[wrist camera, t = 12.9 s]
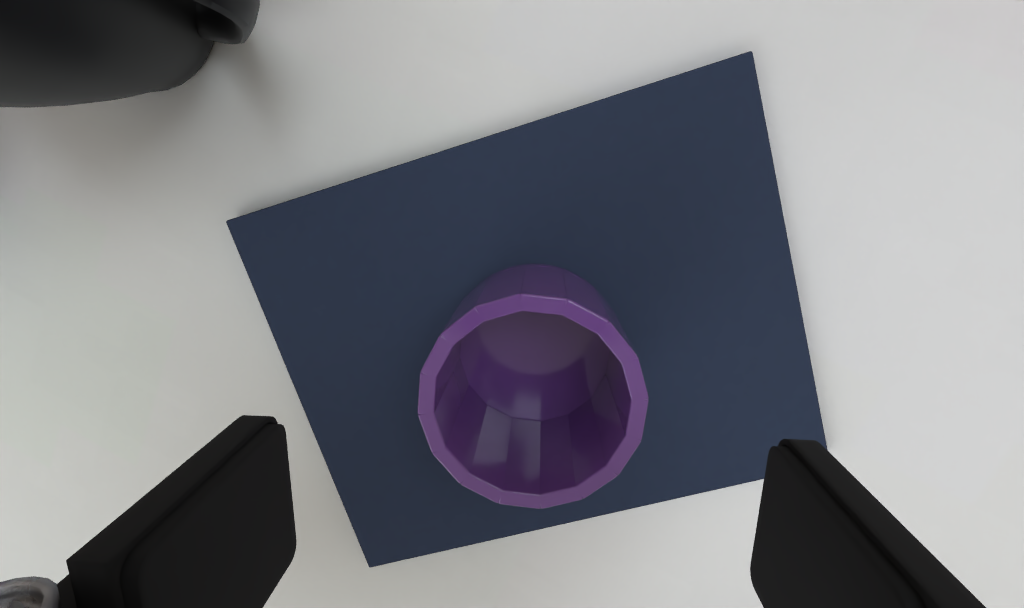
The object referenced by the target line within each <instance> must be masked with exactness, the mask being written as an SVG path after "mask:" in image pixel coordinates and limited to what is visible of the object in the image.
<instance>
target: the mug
mask: <svg viewBox="0 0 1024 608" xmlns="http://www.w3.org/2000/svg"><path fill="white" fill-rule="evenodd" d="M259 6H260V0H0V107H47V106H65V105H74V104H83V103H92V102H100V101H108V100H115V99H120V98H126V97H131V96H135V95H139V94H144V93H148V92H154V91H163V90H168V89H171V88H174V87H176V86H179V85H181V84H183V83H184V82H186V81H187V80H188V79H190V78H191V77H192V76H194V75H195V74H196V73H197V71H198V70H199V69H200V68H201V66H202V65H203V64H204V62H205V61H206V59H207V57H208V55H209V52H210V50H211V48H212V45H213V41H217V42H221V43H227V44H239V43H244V42H245V41H246V40H247V38H248V37H249V35H250V33H251V32H252V30H253V28H254V25H255V23H256V19H257V15H258V11H259Z"/></svg>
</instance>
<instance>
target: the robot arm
mask: <svg viewBox="0 0 1024 608" xmlns="http://www.w3.org/2000/svg"><path fill="white" fill-rule="evenodd" d="M295 550H296V532H295V522H294V512H293V501H292V491H291V481H290V471H289V461H288V451H287V441H286V432H285V428H284V426H283V425H282V424H278V423H277V421H276V419H275V418H274V417H271V416H248V415H243V416H241V417H239V418H238V419H237V420H235V421H234V422H233V423H232V424H230V425H229V426H228V427H227V428H226V429H224V430H223V431H222V432H221V433H220V434H218V435H217V436H216V437H215V438H214V439H212V440H211V441H210V442H209V443H207V444H206V445H205V446H204V447H203V448H201V449H200V450H199V451H198V452H197V453H195V454H194V455H193V456H192V457H191V458H189V459H188V460H187V461H186V462H185V463H183V464H182V465H181V466H180V467H178V468H177V469H176V470H175V471H174V472H172V473H171V474H170V475H169V476H168V477H166V478H165V479H164V480H163V481H162V482H160V483H159V484H158V485H157V486H156V487H154V488H153V489H152V490H151V491H149V492H148V493H147V494H146V495H145V496H143V497H142V498H141V499H140V500H139V501H137V502H136V503H135V504H134V505H133V506H131V507H130V508H129V509H128V510H127V511H125V512H124V513H123V514H122V515H120V516H119V517H118V518H117V519H116V520H114V521H113V522H112V523H111V524H110V525H108V526H107V527H106V528H105V529H104V530H102V531H101V532H100V533H99V534H98V535H96V536H95V537H94V538H93V539H91V540H90V541H89V542H88V543H87V544H85V545H84V546H83V547H82V548H81V549H79V550H78V551H77V552H76V553H75V554H73V555H72V556H71V557H70V558H69V559H67V560H66V562H67V566H68V570H69V574H68V575H67V576H66V577H65V578H64V579H63V580H62V581H60V582H59V583H58V584H56V583H54V582H53V581H51V580H50V579H48V578H42V577H34V576H33V577H23V578H15V579H11V580H7V581H3V582H0V608H263V606H264V604H265V603H266V601H267V600H268V598H269V597H270V595H271V593H272V592H273V590H274V589H275V587H276V586H277V584H278V582H279V581H280V579H281V578H282V576H283V574H284V573H285V571H286V570H287V568H288V567H289V565H290V563H291V562H292V560H293V557H294V554H295ZM750 572H751V580H752V584H753V587H754V589H755V591H756V593H757V595H758V597H759V599H760V601H761V603H762V605H763V607H764V608H986V607H985V606H984V605H983V604H982V603H981V602H980V601H979V600H978V599H977V598H976V597H975V596H974V595H973V594H972V593H971V592H970V591H969V590H968V589H967V588H966V587H965V586H964V585H963V584H962V583H961V582H960V581H959V580H958V579H957V578H956V577H955V576H954V575H953V574H952V573H950V572H949V571H948V570H947V569H946V568H945V567H944V566H943V565H942V564H941V563H940V562H939V561H938V560H937V559H936V558H935V557H934V556H933V555H932V554H931V553H930V552H929V551H928V550H927V549H926V548H925V547H924V546H923V545H922V544H921V543H920V542H919V541H918V540H917V539H916V538H915V537H914V536H913V535H912V534H911V533H910V532H909V531H908V530H907V529H906V528H905V527H904V526H903V525H902V524H901V523H900V522H899V521H898V520H897V519H896V518H895V517H894V516H893V515H892V514H891V513H890V512H889V511H888V510H887V509H886V508H885V507H884V506H883V505H882V504H881V503H880V502H879V501H878V500H877V499H876V498H875V497H874V496H873V495H872V494H871V493H870V492H869V491H868V490H867V489H866V488H865V487H864V486H863V485H862V484H861V483H860V482H859V481H858V480H857V479H856V478H855V477H854V476H853V475H852V474H851V473H850V472H849V471H848V470H847V469H846V468H845V467H844V466H843V465H842V464H841V463H839V462H838V461H837V460H836V459H835V458H834V457H833V456H832V455H831V454H830V453H829V452H828V451H827V450H826V449H825V448H824V447H823V446H822V445H821V444H820V443H819V442H818V441H816V440H800V439H782V440H781V441H780V442H779V444H778V446H772V447H771V448H770V450H769V453H768V459H767V465H766V471H765V477H764V484H763V490H762V496H761V503H760V509H759V515H758V522H757V528H756V534H755V540H754V547H753V553H752V559H751V567H750Z"/></svg>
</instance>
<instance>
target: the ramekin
mask: <svg viewBox="0 0 1024 608" xmlns="http://www.w3.org/2000/svg"><path fill="white" fill-rule="evenodd" d="M648 398H649V396H648V392H647V389H646V385H645V381H644V377H643V373H642V370H641V366H640V362H639V358H638V356H637V354H636V352H635V351H634V349H633V347H632V345H631V343H630V341H629V339H628V337H627V335H626V333H625V332H624V330H623V328H622V326H621V324H620V322H619V320H618V318H617V316H616V315H615V313H614V311H613V310H612V309H611V307H610V306H609V305H608V303H607V302H606V300H605V299H604V297H603V296H602V295H601V294H600V293H599V292H598V290H597V289H596V288H595V287H594V286H592V285H591V284H590V283H589V282H588V281H586V280H585V279H583V278H582V277H580V276H579V275H577V274H575V273H573V272H571V271H568V270H566V269H563V268H560V267H557V266H552V265H546V264H523V265H517V266H513V267H509V268H506V269H503V270H501V271H498V272H496V273H494V274H492V275H491V276H489V277H487V278H486V279H484V280H483V281H482V282H480V283H479V284H478V285H477V286H476V287H475V288H474V289H473V290H472V291H471V292H470V293H468V294H467V295H466V296H465V298H464V299H463V300H462V302H461V303H460V305H459V306H458V308H457V309H456V311H455V312H454V314H453V315H452V317H451V318H450V320H449V321H448V323H447V324H446V326H445V327H444V329H443V330H442V332H441V333H440V335H439V337H438V339H437V340H436V342H435V344H434V346H433V348H432V350H431V352H430V354H429V356H428V358H427V360H426V361H425V363H424V365H423V367H422V369H421V373H420V379H419V396H418V417H419V420H420V422H421V425H422V428H423V430H424V433H425V436H426V439H427V441H428V444H429V447H430V450H431V452H433V455H434V456H435V457H436V458H437V459H438V461H439V462H440V463H441V464H442V465H443V466H444V467H445V468H446V469H447V470H448V472H449V473H450V474H451V475H452V476H453V477H454V478H455V479H456V480H457V481H458V483H461V485H462V486H464V487H466V488H468V489H470V490H472V491H474V492H476V493H478V494H480V495H482V496H484V497H486V498H488V499H490V500H492V501H494V502H496V503H498V502H499V504H504V505H512V506H520V507H528V508H536V509H540V508H542V509H543V508H548V507H552V506H557V505H561V504H565V503H570V502H574V501H578V500H582V498H583V499H584V498H586V497H587V496H589V495H590V494H592V493H593V492H595V491H596V490H598V489H599V488H601V487H602V486H604V485H605V484H607V483H608V482H610V481H611V480H613V479H614V478H615V477H617V475H619V474H620V472H621V471H622V469H623V468H624V466H625V465H626V463H627V462H628V460H629V459H630V457H631V456H632V454H633V453H634V451H635V450H636V449H637V447H638V446H639V444H640V443H641V439H642V436H643V430H644V425H645V419H646V413H647V407H648V402H649V400H648Z"/></svg>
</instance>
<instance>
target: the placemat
mask: <svg viewBox="0 0 1024 608" xmlns="http://www.w3.org/2000/svg"><path fill="white" fill-rule="evenodd" d="M226 223H227V225H228V227H229V230H230V232H231V235H232V237H233V240H234V242H235V244H236V247H237V249H238V252H239V254H240V256H241V259H242V261H243V264H244V266H245V268H246V271H247V273H248V276H249V278H250V281H251V283H252V285H253V288H254V290H255V293H256V295H257V297H258V300H259V302H260V305H261V307H262V309H263V312H264V314H265V317H266V319H267V322H268V324H269V326H270V329H271V331H272V334H273V336H274V338H275V341H276V343H277V346H278V348H279V350H280V353H281V355H282V358H283V360H284V363H285V365H286V367H287V370H288V372H289V375H290V377H291V379H292V382H293V384H294V387H295V389H296V391H297V394H298V396H299V399H300V401H301V404H302V406H303V408H304V411H305V413H306V416H307V418H308V420H309V423H310V425H311V428H312V430H313V432H314V435H315V437H316V440H317V442H318V445H319V447H320V449H321V452H322V454H323V457H324V459H325V461H326V464H327V466H328V469H329V471H330V473H331V476H332V478H333V481H334V483H335V486H336V488H337V490H338V493H339V495H340V498H341V500H342V502H343V505H344V507H345V510H346V512H347V514H348V517H349V519H350V522H351V524H352V527H353V529H354V531H355V534H356V536H357V539H358V541H359V543H360V546H361V548H362V551H363V553H364V555H365V558H366V560H367V563H368V565H369V567H374V566H378V565H383V564H387V563H392V562H396V561H401V560H405V559H410V558H414V557H418V556H423V555H427V554H432V553H436V552H441V551H445V550H449V549H454V548H458V547H463V546H467V545H472V544H476V543H481V542H485V541H489V540H494V539H498V538H503V537H507V536H512V535H516V534H520V533H525V532H529V531H534V530H538V529H543V528H547V527H552V526H556V525H560V524H565V523H569V522H574V521H578V520H583V519H587V518H591V517H596V516H600V515H605V514H609V513H614V512H618V511H623V510H627V509H631V508H636V507H640V506H645V505H649V504H654V503H658V502H662V501H667V500H671V499H676V498H680V497H685V496H689V495H694V494H698V493H702V492H707V491H711V490H716V489H720V488H725V487H729V486H734V485H738V484H742V483H747V482H751V481H756V480H760V479H764V477H765V471H766V465H767V459H768V453H769V450H770V448H771V447H772V446H778V444H779V442H780V441H781V440H782V439H800V440H816V441H818V442H819V443H820V444H821V445H822V446H823V447H824V448H825V449H826V450H827V445H826V440H825V435H824V429H823V424H822V419H821V414H820V408H819V403H818V398H817V392H816V387H815V382H814V376H813V371H812V366H811V360H810V355H809V350H808V345H807V339H806V334H805V329H804V323H803V318H802V313H801V307H800V302H799V297H798V292H797V286H796V281H795V276H794V270H793V265H792V260H791V254H790V249H789V244H788V239H787V233H786V228H785V223H784V217H783V212H782V207H781V201H780V196H779V191H778V186H777V180H776V175H775V170H774V164H773V159H772V154H771V148H770V143H769V138H768V133H767V127H766V122H765V117H764V111H763V106H762V101H761V95H760V90H759V85H758V80H757V74H756V69H755V64H754V58H753V53H752V52H751V51H750V52H747V53H744V54H741V55H737V56H734V57H731V58H728V59H725V60H722V61H719V62H716V63H713V64H710V65H707V66H703V67H700V68H697V69H694V70H691V71H688V72H685V73H682V74H679V75H676V76H673V77H669V78H666V79H663V80H660V81H657V82H654V83H651V84H648V85H645V86H642V87H639V88H635V89H632V90H629V91H626V92H623V93H620V94H617V95H614V96H611V97H608V98H605V99H601V100H598V101H595V102H592V103H589V104H586V105H583V106H580V107H577V108H574V109H571V110H567V111H564V112H561V113H558V114H555V115H552V116H549V117H546V118H543V119H540V120H537V121H533V122H530V123H527V124H524V125H521V126H518V127H515V128H512V129H509V130H506V131H503V132H499V133H496V134H493V135H490V136H487V137H484V138H481V139H478V140H475V141H472V142H469V143H465V144H462V145H459V146H456V147H453V148H450V149H447V150H444V151H441V152H438V153H435V154H431V155H428V156H425V157H422V158H419V159H416V160H413V161H410V162H407V163H404V164H401V165H397V166H394V167H391V168H388V169H385V170H382V171H379V172H376V173H373V174H370V175H367V176H363V177H360V178H357V179H354V180H351V181H348V182H345V183H342V184H339V185H336V186H333V187H329V188H326V189H323V190H320V191H317V192H314V193H311V194H308V195H305V196H302V197H299V198H295V199H292V200H289V201H286V202H283V203H280V204H277V205H274V206H271V207H268V208H265V209H261V210H258V211H255V212H252V213H249V214H246V215H243V216H240V217H237V218H234V219H231V220H228V221H226ZM523 264H546V265H552V266H557V267H560V268H563V269H566V270H568V271H571V272H573V273H575V274H577V275H579V276H580V277H582V278H583V279H585V280H586V281H588V282H589V283H590V284H591V285H592V286H594V287H595V288H596V289H597V290H598V292H599V293H600V294H601V295H602V296H603V297H604V299H605V300H606V302H607V303H608V305H609V306H610V307H611V309H612V310H613V311H614V313H615V315H616V316H617V318H618V320H619V322H620V324H621V326H622V328H623V330H624V332H625V333H626V335H627V337H628V339H629V341H630V343H631V345H632V347H633V349H634V351H635V352H636V354H637V356H638V358H639V362H640V366H641V370H642V373H643V377H644V381H645V385H646V389H647V392H648V396H649V398H648V400H649V402H648V407H647V413H646V419H645V425H644V430H643V436H642V439H641V443H640V444H639V446H638V447H637V449H636V450H635V451H634V453H633V454H632V456H631V457H630V459H629V460H628V462H627V463H626V465H625V466H624V468H623V469H622V471H621V472H620V474H619V475H617V477H615V478H614V479H613V480H611V481H610V482H608V483H607V484H605V485H604V486H602V487H601V488H599V489H598V490H596V491H595V492H593V493H592V494H590V495H589V496H587V497H586V498H584V499H583V498H582V500H578V501H574V502H570V503H565V504H561V505H557V506H552V507H548V508H543V509H542V508H540V509H536V508H528V507H520V506H512V505H504V504H499V502H498V503H496V502H494V501H492V500H490V499H488V498H486V497H484V496H482V495H480V494H478V493H476V492H474V491H472V490H470V489H468V488H466V487H464V486H462V485H461V483H458V481H457V480H456V479H455V478H454V477H453V476H452V475H451V474H450V473H449V472H448V470H447V469H446V468H445V467H444V466H443V465H442V464H441V463H440V462H439V461H438V459H437V458H436V457H435V456H434V455H433V452H431V450H430V447H429V444H428V441H427V439H426V436H425V433H424V430H423V428H422V425H421V422H420V420H419V417H418V396H419V379H420V373H421V369H422V367H423V365H424V363H425V361H426V360H427V358H428V356H429V354H430V352H431V350H432V348H433V346H434V344H435V342H436V340H437V339H438V337H439V335H440V333H441V332H442V330H443V329H444V327H445V326H446V324H447V323H448V321H449V320H450V318H451V317H452V315H453V314H454V312H455V311H456V309H457V308H458V306H459V305H460V303H461V302H462V300H463V299H464V298H465V296H466V295H467V294H468V293H470V292H471V291H472V290H473V289H474V288H475V287H476V286H477V285H478V284H479V283H480V282H482V281H483V280H484V279H486V278H487V277H489V276H491V275H492V274H494V273H496V272H498V271H501V270H503V269H506V268H509V267H513V266H517V265H523Z"/></svg>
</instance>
